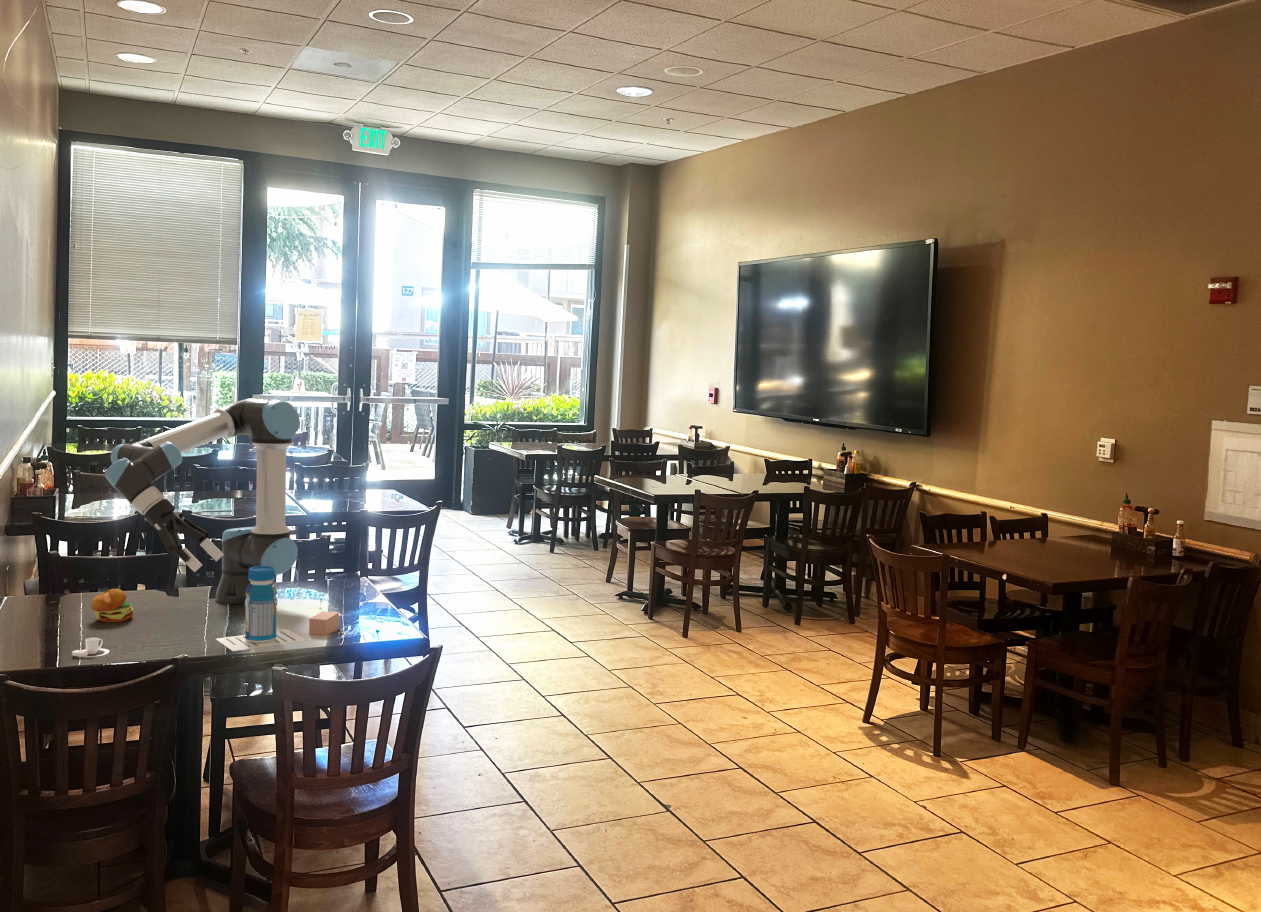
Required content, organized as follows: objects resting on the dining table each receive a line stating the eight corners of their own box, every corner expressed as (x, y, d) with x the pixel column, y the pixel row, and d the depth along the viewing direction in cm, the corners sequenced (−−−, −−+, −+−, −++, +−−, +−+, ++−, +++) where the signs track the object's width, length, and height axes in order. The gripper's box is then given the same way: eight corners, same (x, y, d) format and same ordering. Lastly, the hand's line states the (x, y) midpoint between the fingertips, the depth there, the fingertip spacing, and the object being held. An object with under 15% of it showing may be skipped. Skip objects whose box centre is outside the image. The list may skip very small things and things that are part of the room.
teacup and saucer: (73, 661, 256) (73, 645, 256) (69, 653, 263) (69, 637, 262) (111, 656, 262) (111, 641, 261) (106, 648, 268) (106, 633, 268)
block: (309, 618, 287) (322, 611, 296) (309, 636, 288) (322, 628, 296) (326, 619, 287) (338, 612, 295) (326, 637, 287) (338, 629, 296)
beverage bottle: (258, 645, 274) (258, 572, 272) (237, 639, 279) (238, 568, 277) (283, 639, 281) (284, 567, 280) (263, 633, 286) (264, 563, 284)
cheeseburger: (143, 617, 299) (137, 586, 296) (112, 633, 289) (105, 601, 286) (119, 611, 303) (112, 581, 300) (88, 627, 294) (81, 596, 290)
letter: (215, 639, 279) (215, 638, 279) (286, 630, 292) (286, 628, 292) (233, 652, 268) (233, 651, 268) (306, 641, 281) (306, 640, 281)
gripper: (166, 508, 289) (219, 562, 290) (120, 524, 264) (178, 582, 266) (184, 491, 288) (237, 545, 290) (140, 504, 264) (198, 563, 265)
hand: (209, 563), depth 278 cm, fingers open, 13 cm apart
